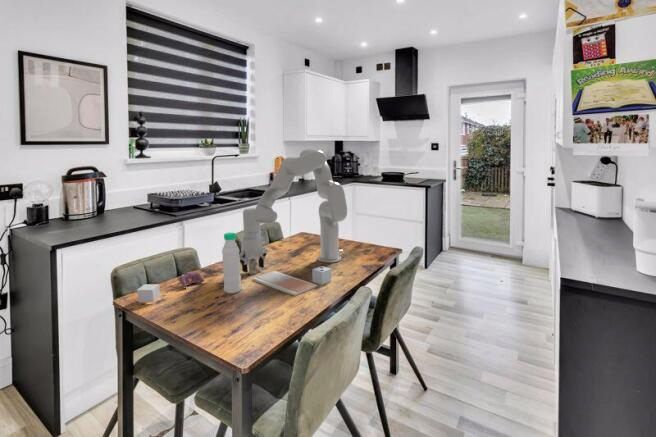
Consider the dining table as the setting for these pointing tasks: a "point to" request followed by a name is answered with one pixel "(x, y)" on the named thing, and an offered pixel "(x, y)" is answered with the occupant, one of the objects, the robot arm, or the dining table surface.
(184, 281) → the video game controller
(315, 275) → the die
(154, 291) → the light grey cube
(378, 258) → the dining table surface
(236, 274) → the water bottle
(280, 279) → the board
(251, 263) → the pawn
